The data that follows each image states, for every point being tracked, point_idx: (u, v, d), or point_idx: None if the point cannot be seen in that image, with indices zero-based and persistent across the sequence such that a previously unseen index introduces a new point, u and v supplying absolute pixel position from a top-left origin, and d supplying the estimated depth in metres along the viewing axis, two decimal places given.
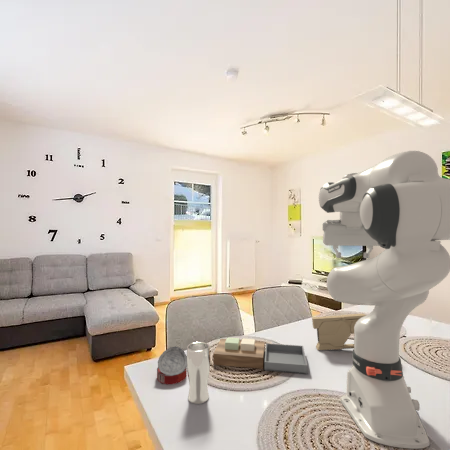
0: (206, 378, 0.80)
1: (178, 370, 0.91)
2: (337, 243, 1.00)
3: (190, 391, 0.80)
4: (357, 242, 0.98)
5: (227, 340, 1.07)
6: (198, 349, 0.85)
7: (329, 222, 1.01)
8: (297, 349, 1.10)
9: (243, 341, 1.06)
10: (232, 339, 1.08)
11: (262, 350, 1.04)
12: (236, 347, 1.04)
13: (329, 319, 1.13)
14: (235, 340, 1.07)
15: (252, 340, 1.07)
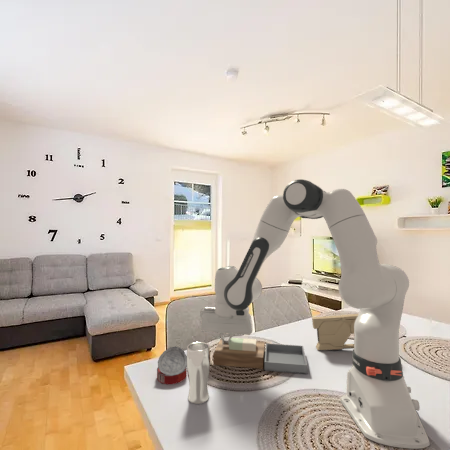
0: (206, 378, 0.80)
1: (178, 370, 0.91)
2: (210, 330, 1.07)
3: (190, 391, 0.80)
4: (228, 330, 1.05)
5: (231, 340, 1.07)
6: (198, 349, 0.85)
7: (205, 310, 1.08)
8: (297, 349, 1.10)
9: (245, 341, 1.06)
10: (236, 339, 1.08)
11: (262, 350, 1.04)
12: (240, 347, 1.04)
13: (329, 319, 1.13)
14: (240, 341, 1.06)
15: (254, 340, 1.07)
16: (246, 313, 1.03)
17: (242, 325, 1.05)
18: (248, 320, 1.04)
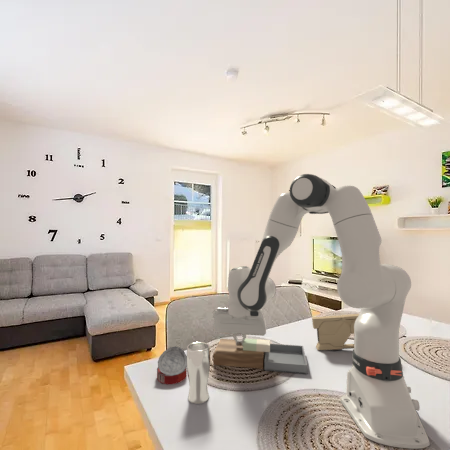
0: (206, 378, 0.80)
1: (178, 370, 0.91)
2: (224, 331, 1.06)
3: (190, 391, 0.80)
4: (242, 331, 1.04)
5: (245, 341, 1.06)
6: (198, 349, 0.85)
7: (218, 310, 1.07)
8: (297, 349, 1.10)
9: (258, 342, 1.05)
10: (249, 340, 1.07)
11: None
12: (254, 348, 1.03)
13: (329, 319, 1.13)
14: (253, 341, 1.05)
15: (267, 341, 1.06)
16: (260, 314, 1.02)
17: (256, 326, 1.04)
18: (262, 321, 1.03)
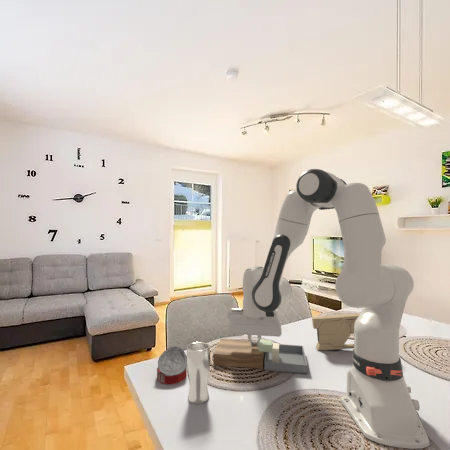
0: (206, 378, 0.80)
1: (178, 370, 0.91)
2: (239, 332, 1.05)
3: (190, 391, 0.80)
4: (257, 332, 1.03)
5: (260, 342, 1.05)
6: (198, 349, 0.85)
7: (233, 311, 1.06)
8: (297, 349, 1.10)
9: None
10: (265, 341, 1.06)
11: None
12: (270, 349, 1.02)
13: (329, 319, 1.13)
14: (269, 343, 1.04)
15: None
16: (276, 314, 1.01)
17: (271, 327, 1.03)
18: (278, 321, 1.02)
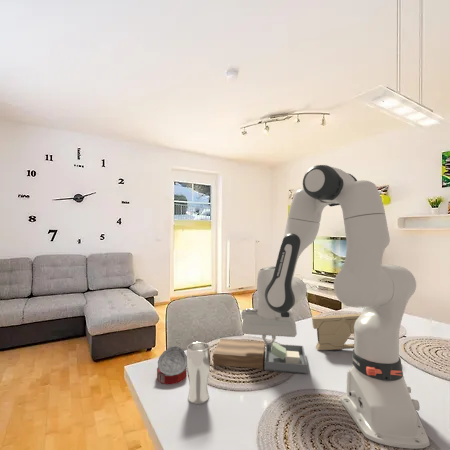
0: (206, 378, 0.80)
1: (178, 370, 0.91)
2: (253, 332, 1.04)
3: (190, 391, 0.80)
4: (271, 332, 1.03)
5: (275, 345, 1.04)
6: (198, 349, 0.85)
7: (247, 311, 1.06)
8: (297, 349, 1.10)
9: None
10: (279, 346, 1.05)
11: (262, 350, 1.04)
12: (283, 356, 1.02)
13: (329, 319, 1.13)
14: (283, 349, 1.04)
15: None
16: (291, 315, 1.00)
17: (286, 327, 1.02)
18: (293, 322, 1.01)
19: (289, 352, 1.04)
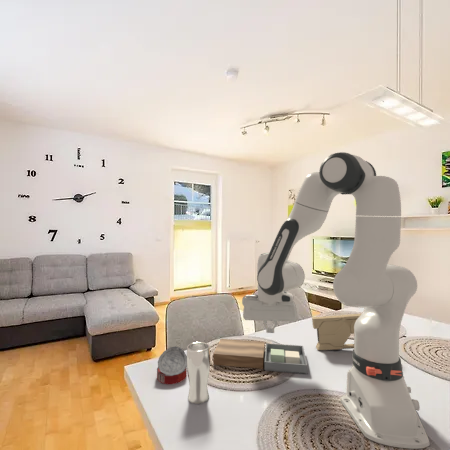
0: (206, 378, 0.80)
1: (178, 370, 0.91)
2: (254, 318, 1.04)
3: (190, 391, 0.80)
4: (273, 317, 1.02)
5: (272, 352, 1.04)
6: (198, 349, 0.85)
7: (248, 297, 1.06)
8: (297, 349, 1.10)
9: None
10: (277, 351, 1.05)
11: (262, 350, 1.04)
12: (282, 359, 1.02)
13: (329, 319, 1.13)
14: (281, 352, 1.04)
15: None
16: (292, 299, 1.00)
17: (287, 312, 1.02)
18: (294, 306, 1.01)
19: (289, 352, 1.04)
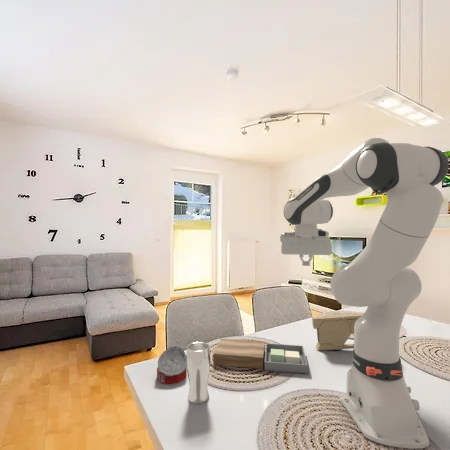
0: (206, 378, 0.80)
1: (178, 370, 0.91)
2: (292, 252, 1.14)
3: (190, 391, 0.80)
4: (309, 251, 1.13)
5: (272, 352, 1.04)
6: (198, 349, 0.85)
7: (285, 234, 1.16)
8: (297, 349, 1.10)
9: None
10: (277, 351, 1.05)
11: (262, 350, 1.04)
12: (282, 359, 1.02)
13: (329, 319, 1.13)
14: (281, 352, 1.04)
15: None
16: (327, 234, 1.11)
17: (323, 246, 1.12)
18: (329, 241, 1.11)
19: (289, 352, 1.04)
